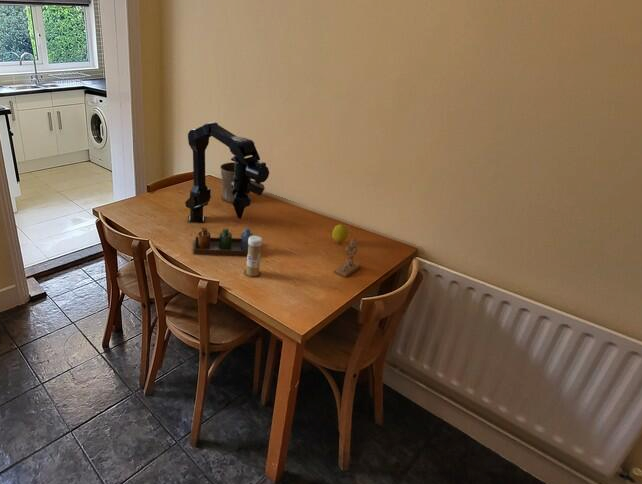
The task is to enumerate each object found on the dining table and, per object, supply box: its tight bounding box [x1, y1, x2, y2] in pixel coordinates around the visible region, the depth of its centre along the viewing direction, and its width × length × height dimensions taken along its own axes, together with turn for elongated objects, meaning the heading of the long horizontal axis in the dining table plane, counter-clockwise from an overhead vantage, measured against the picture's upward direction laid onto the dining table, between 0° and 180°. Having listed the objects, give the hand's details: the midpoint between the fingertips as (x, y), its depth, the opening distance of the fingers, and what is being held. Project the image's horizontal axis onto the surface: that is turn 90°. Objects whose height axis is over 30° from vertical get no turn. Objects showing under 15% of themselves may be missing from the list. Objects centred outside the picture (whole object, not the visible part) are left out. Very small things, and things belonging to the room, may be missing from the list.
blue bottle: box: [240, 227, 254, 250], centre depth 153 cm, size 4×4×8 cm
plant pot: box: [219, 161, 252, 204], centre depth 199 cm, size 16×16×16 cm
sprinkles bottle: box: [245, 235, 263, 277], centre depth 137 cm, size 5×5×14 cm
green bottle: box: [218, 228, 233, 250], centre depth 154 cm, size 5×5×8 cm
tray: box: [193, 236, 248, 257], centre depth 155 cm, size 10×23×2 cm, turn 85°
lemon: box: [331, 223, 349, 244], centre depth 158 cm, size 6×6×8 cm
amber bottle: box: [197, 227, 211, 249], centre depth 155 cm, size 5×5×8 cm
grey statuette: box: [335, 238, 360, 278], centre depth 139 cm, size 9×4×12 cm, turn 131°
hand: (238, 213), depth 157 cm, fingers open, 9 cm apart
